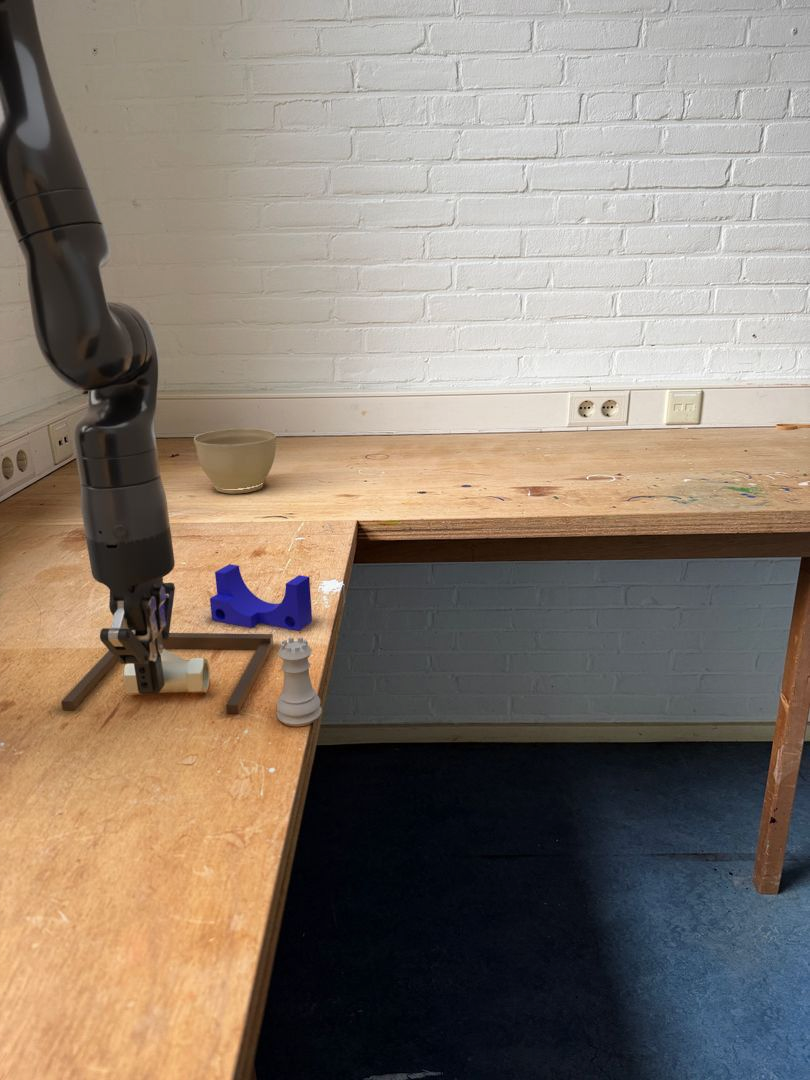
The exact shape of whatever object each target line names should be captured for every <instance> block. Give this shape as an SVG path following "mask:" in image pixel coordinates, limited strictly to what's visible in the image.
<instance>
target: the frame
mask: <svg viewBox="0 0 810 1080" xmlns="http://www.w3.org/2000/svg"><path fill="white" fill-rule="evenodd" d="M273 635H274V634H273V633H226V632H225V633H223V632H219V633H218V632H217V633H216V632H215V633H214V632H212V633H211V632H169V637H168V639H167V640H163V649H180V650H181V649H184V650H185V649H189V650H190V649H191V650H253V651H255V652H254V653H253V655H252V656H251V659H250V661H249V663H248V665H247V666H246V668H245V669H244V672H243V674H242V675H241V677H240V679H239V681H238V682H237V684H236V686H235V688H234V689H233V691H232V693H231V695H230V697H229V699H228V700H227V703H226V704H225V705H226V706H225V707H226V714H239V713H240V712H241V709H242V707H243V706H244V703H245V702H246V699H247V698H248V696H249V694H250V692H251V690H252V688H253V686H254V684H255V682H256V681H257V678H258V677H259V675H260V672H261V670H262V669H263V667H264V665H265V663H266V661H267V659H268V657H269V655H270V653H271V651H272V649H273V647H274V636H273ZM117 662H119V661H118V660H117V658H116V657H115V656H114V655H113V654H112V653H111V652H110V650H109V649H108V651H107V652H106V653H105V654H104V655H103V656H102V657H101V658H100V659H99V660H98V661H97V663H95V664H94V666H93V667H92V668H91V669H90V670H89V671H88V672H87V673H86V674H85V675H84V676H83V678H81V679H80V681H79V682H78V683H77V684H76V685H75V686H74V687H73V688H72V689H71V690H70V691H69V692H68V693H67V695H66V696H64V698H62V700H61V701H60V703H61V709H62V711H74V710H75V709H76V708H78V706H79V705H80V704H81V703H82V701H83V700H84V699H85V698H86V697H87V696H88V695H89V694H90V692H92V690H93V689H94V688H95V687H96V686H97V685H98V684H99V682H100V681H101V680H102V679H103V678H104V677H105V676H106V674H108V673H109V671H110V670H111V669H112V668H113V667H114V666H115V665H116V663H117Z"/></svg>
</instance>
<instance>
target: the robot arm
mask: <svg viewBox="0 0 810 1080" xmlns="http://www.w3.org/2000/svg"><path fill="white" fill-rule="evenodd" d="M37 18H38V17H37V12H36V7H35V2H34V0H0V199H1V203H2V205H3V208H4V210H5V213H6V215H7V219H8V222H9V224H10V227H11V230H12V232H13V235H14V237H15V239H16V243H17V244H18V247H19V250H20V252H21V255H22V256H23V260H24V262H25V269H26V282H27V284H26V285H27V292H28V298H29V305H30V312H31V317H32V318H31V319H32V324H33V326H32V327H33V330H34V335H35V340H36V343H37V346H38V348H39V351H40V353H41V355H42V357H43V359H44V361H45V362H46V364H47V366H48V367H49V369H50V370H51V371H52V373H53V374H54V375H55V376H56V377H57V378H58V379H59V380H60V381H61V382H63V383H64V384H65V385H67V386H69V387H71V388H73V389H76V390H79V391H86V392H87V397H88V398H87V409H86V411H85V413H84V415H83V416H82V417H81V418H80V419H79V420H78V421H77V422H76V423H75V425H74V428H73V433H72V434H73V448H74V454H75V459H76V465H77V473H78V477H79V486H80V509H81V515H82V516H81V517H82V523H83V528H84V529H83V530H84V535H85V541H86V547H87V553H88V558H89V566H90V571H91V576H92V578H93V579H94V580H95V581H96V582H98V583H99V584H102V585H104V586H106V587H107V588H108V589H109V603H108V606H109V612H111V615H112V620H111V623H110V627H109V628H107V627H106V628H105V627H104V628H101V630H100V633H99V640H100V641H101V643H102V644H103V645H104V647H106V648H107V650H108V651H109V650H110V652H111V653H112V654H113V655H114V656H115V657H116V658H117V660H118V661H117V662H119V663H120V664H121V665H126V664H134V668H135V674H136V681H137V687H138V692H139V693H141V694H145V695H158V694H160V693H159V692H160V690H161V689H162V688H163V686H164V685H165V683H164V676H163V668H162V661H161V655H160V654H161V653H162V652H163V649H164V648H163V640H167V639H168V637H169V633H170V629H171V622H172V615H173V614H172V613H173V606H174V599H175V591H176V586H175V583H174V582H164V577H166V576H167V575H169V574H170V573H171V572H172V571H173V570H174V569H175V565H176V564H175V563H176V562H175V561H176V560H175V554H174V546H173V538H172V532H171V531H172V530H171V521H170V514H169V507H168V500H167V495H166V491H165V488H164V485H163V479H162V475H161V466H160V458H159V451H158V445H157V444H158V443H157V439H156V435H155V434H156V433H155V421H156V414H157V407H158V406H157V405H158V390H159V373H160V371H159V370H160V361H159V350H158V345H157V341H156V338H155V334H154V331H153V329H152V326H151V325H150V323H149V322H148V320H147V319H146V318H145V316H144V315H143V314H142V313H141V312H140V311H139V310H137V308H135V307H133V306H131V305H129V304H127V303H123V302H120V301H107V298H106V293H105V288H104V283H103V278H102V273H101V270H102V269H103V268H104V267H105V266H106V265H107V264H108V263H109V261H110V259H111V253H112V252H111V245H110V240H109V237H108V234H107V231H106V227H105V225H104V221H103V219H102V215H101V213H100V210H99V208H98V204H97V202H96V198H95V195H94V193H93V190H92V189H93V188H92V187H91V183H90V182H89V178H88V176H87V173H86V170H85V167H84V164H83V163H82V159H81V157H80V154H79V151H78V149H77V146H76V144H75V141H74V138H73V135H72V133H71V130H70V128H69V125H68V122H67V119H66V116H65V114H64V111H63V109H62V105H61V103H60V100H59V97H58V94H57V91H56V88H55V85H54V82H53V78H52V75H51V71H50V68H49V67H50V66H49V64H48V61H47V60H48V59H47V56H46V53H45V48H44V45H43V40H42V36H41V32H40V27H39V23H38V19H37Z"/></svg>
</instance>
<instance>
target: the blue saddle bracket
mask: <svg viewBox="0 0 810 1080" xmlns="http://www.w3.org/2000/svg"><path fill="white" fill-rule="evenodd" d="M214 577H215V587H216V594H215V595H213V596H211V597H209V603H210V605H209V606H210V614H211V620H212V621H214V622H219V623H224V624H229V625H235V626H239V627H244V628H248V629H249V628H250V629H252V628H253V627H256V625H259V624H261V625H266V626H271V627H276V628H282V629H287V630H292V631H297V632H300V631H302V630H303V629H304V628H306V627H307V626H308V625H310V624H312V622H313V611H312V595H311V581H310V576H307V575H301V574H298V575H297V576H295V577H294V578H292V579H291V580H289V581H287V582H286V583H285V592H284V596H283V599H282V600H281V602H279V603H271V602H268V601H265V600H263V599H262V598H261V599H260V598H259V597H257V595H255V594H254V593H253V592H252V591H251V590H250V589H249V588H248V586H247V585H246V583H245V581H244V579H243V577H242V574H241V569H240V565H237V564H232V563H231V564H230V563H229V564H227V565H225V566H224V567H221V568H219V569H218V570H216V571H214Z"/></svg>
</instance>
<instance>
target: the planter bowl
mask: <svg viewBox="0 0 810 1080" xmlns="http://www.w3.org/2000/svg"><path fill="white" fill-rule="evenodd" d="M276 442H277V434H276V433H275V432H274V431H271V430H266V429H262V428H261V429H259V428H227V429H217V430H212V431H207V432H203V433H199V434H197V435H195V436H194V437H193V443H194V446H195V451H196V455H197V459H198V462H199V465H200V466H201V468H202V471H203V472H204V474H205V476H207V478H208V479H209V481H210V482H212V483H213V485H214V488H215V490H216V491H217V492H219V493H222V494H227V495H228V494H246V493H252V492H255V491H259V490H261V489H262V488H264V482H263V481H265V480H266V478H267V476H268V475H269V473H270V472H271V470H272V467H273V464H274V460H275V456H276ZM261 483H263V484H262V485H260V486H258V487H254V488H250V489H243V490H223V489H238V488H247V487H252V486H256V485H259V484H261ZM215 486H216V487H218V488H223V489H218V488H216V487H215Z"/></svg>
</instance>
